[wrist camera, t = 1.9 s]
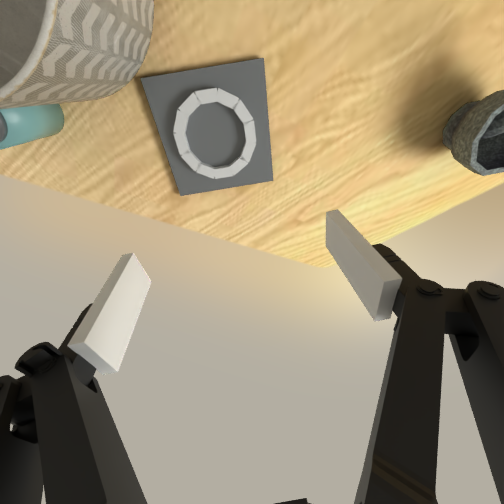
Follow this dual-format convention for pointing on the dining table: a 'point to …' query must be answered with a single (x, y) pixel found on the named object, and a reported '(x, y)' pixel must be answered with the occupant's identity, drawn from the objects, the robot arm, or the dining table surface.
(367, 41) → the dining table surface
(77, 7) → the planter
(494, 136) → the mortar and pestle
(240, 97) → the holder
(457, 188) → the dining table surface
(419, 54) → the dining table surface
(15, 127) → the teal and grey peg
